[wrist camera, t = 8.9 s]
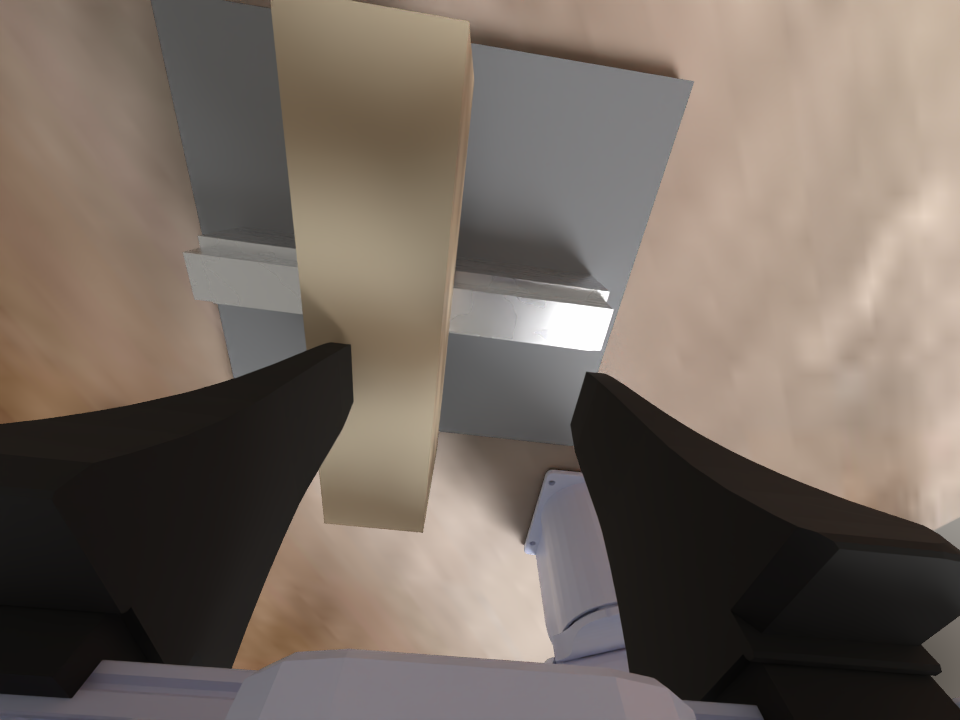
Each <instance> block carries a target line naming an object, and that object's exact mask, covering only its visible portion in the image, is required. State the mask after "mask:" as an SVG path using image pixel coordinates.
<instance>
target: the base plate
mask: <svg viewBox="0 0 960 720" xmlns="http://www.w3.org/2000/svg"><path fill="white" fill-rule="evenodd" d="M151 4H152V9H153V13H154V18H155V22H156V27H157V31H158V36H159V40H160V45H161V49H162V54H163V58H164V63H165V68H166V72H167V77H168V81H169V86H170V90H171V95H172V99H173V104H174V108H175V113H176V118H177V122H178V127H179V131H180V136H181V140H182V145H183V149H184V154H185V158H186V163H187V168H188V172H189V177H190V181H191V186H192V190H193V195H194V199H195V204H196V208H197V213H198V218H199V222H200V227H201V231H202V235H203V234H208V233H213V232H218V231H223V230H227V229H232V228H237V227H246V228H253V229H261V230H268V231H275V232H282V233H290V234H294V225H293V215H292V205H291V196H290V186H289V177H288V167H287V157H286V148H285V138H284V128H283V119H282V109H281V99H280V90H279V80H278V70H277V61H276V51H275V42H274V32H273V22H272V13H271V8H265V7H259V6H253V5H247V4H242V3H236V2H230V1H224V0H151ZM471 48H472V60H473V71H474V89H473V99H472V108H471V118H470V128H469V138H468V148H467V158H466V167H465V177H464V187H463V197H462V207H461V217H460V227H459V236H458V246H457V256H456V257H464V258H471V259H478V260H485V261H493V262H500V263H507V264H514V265H522V266H529V267H536V268H543V269H551V270H558V271H565V272H572V273H580V274H587V275H592V276H593V277H594V278H595V279H596V280H597V281H599V282H600V283H601V284H602V285H603V286H604V287H605V288H606V289H607V290H609V291H610V292H609V296H608V299H607V303H608V304H609V305H610V306H611V307H612V308H613V309H614V310H613V313H612V316H611V319H610V322H609V325H608V328H607V331H606V334H605V338H604V341H603V344H602V347H601V350H591V351H590V350H582V349H574V348H566V347H558V346H550V345H542V344H534V343H526V342H518V341H510V340H502V339H494V338H486V337H478V336H470V335H463V334H455V333H449V335H448V345H447V354H446V364H445V374H444V384H443V394H442V404H441V413H440V423H439V431H440V432H449V433H458V434H467V435H476V436H485V437H494V438H504V439H513V440H522V441H531V442H540V443H549V444H558V445H567V446H573V445H574V444H573V438H572V432H571V427H570V424H571V420H572V417H573V414H574V410H575V407H576V404H577V400H578V397H579V394H580V390H581V387H582V384H583V380H584V377H585V374H586V372H594V373H598V370H599V367H600V364H601V361H602V358H603V355H604V352H605V349H606V346H607V343H608V340H609V337H610V334H611V331H612V328H613V325H614V322H615V319H616V316H617V312H618V309H619V306H620V303H621V300H622V297H623V294H624V291H625V288H626V285H627V282H628V279H629V276H630V273H631V270H632V267H633V264H634V261H635V258H636V255H637V252H638V249H639V246H640V243H641V240H642V237H643V234H644V231H645V228H646V225H647V222H648V219H649V216H650V213H651V210H652V207H653V204H654V201H655V198H656V195H657V192H658V189H659V186H660V183H661V180H662V177H663V174H664V171H665V168H666V165H667V162H668V159H669V156H670V153H671V150H672V147H673V144H674V141H675V138H676V135H677V132H678V129H679V126H680V123H681V120H682V117H683V114H684V111H685V108H686V105H687V102H688V99H689V96H690V93H691V89H692V86H693V83H694V81H689V80H683V79H678V78H672V77H666V76H660V75H654V74H648V73H643V72H637V71H631V70H625V69H619V68H614V67H608V66H602V65H596V64H590V63H585V62H579V61H573V60H567V59H561V58H555V57H550V56H544V55H538V54H532V53H526V52H521V51H515V50H509V49H503V48H497V47H492V46H486V45H480V44H474V43H471ZM218 308H219V313H220V317H221V322H222V327H223V331H224V336H225V340H226V345H227V349H228V354H229V358H230V363H231V367H232V372H233V377H234V378H237V377H240V376H242V375H245V374H248V373H251V372H253V371H256V370H259V369H261V368H264V367H267V366H270V365H272V364H275V363H277V362H280V361H282V360H285V359H287V358H289V357H292V356H294V355H297V354H299V353H302V352H304V351H307V350H306V340H305V331H304V321H303V314H296V313H288V312H280V311H272V310H264V309H256V308H248V307H240V306H232V305H224V304H218Z"/></svg>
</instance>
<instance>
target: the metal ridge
mask: <svg viewBox="0 0 960 720" xmlns="http://www.w3.org/2000/svg"><path fill="white" fill-rule="evenodd" d="M198 240H199V244H200V248H197V249H193V250H189V251H185V252H183V255H184V259H185V263H186V267H187V271H188V275H189V279H190V283H191V287H192V291H193V295H194V299H195V300H203V301H211V302H213V303H216V304H224V305H232V306H240V307H248V308H256V309H264V310H272V311H280V312H288V313H296V314H303V311H302V302H301V292H300V283H299V273H298V263H297V254H296V244H295V234H290V233H282V232H275V231H268V230H261V229H253V228H246V227H237V228H232V229H227V230H223V231H218V232H213V233H208V234H203V235H198ZM609 292H610V291H609V290H607V289H606V288H605V287H604V286H603V285H602V284H601V283H600V282H599V281H597V280H596V279H595V278H594V277H593V276H592V275H587V274H580V273H572V272H565V271H558V270H551V269H543V268H536V267H529V266H522V265H514V264H507V263H500V262H493V261H485V260H478V259H471V258H464V257H456V266H455V276H454V286H453V295H452V305H451V315H450V325H449V333H455V334H463V335H470V336H478V337H486V338H494V339H502V340H510V341H518V342H526V343H534V344H542V345H550V346H558V347H566V348H574V349H582V350H590V351H591V350H601V347H602V344H603V341H604V338H605V334H606V331H607V328H608V325H609V322H610V319H611V316H612V313H613V310H614V309H613V308H612V307H611V306H610V305H609V304H608V303H607V299H608V296H609Z"/></svg>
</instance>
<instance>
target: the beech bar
mask: <svg viewBox="0 0 960 720" xmlns="http://www.w3.org/2000/svg"><path fill="white" fill-rule="evenodd" d="M270 3H271V13H272V22H273V32H274V42H275V51H276V61H277V70H278V80H279V90H280V99H281V109H282V119H283V128H284V138H285V148H286V157H287V167H288V177H289V186H290V196H291V205H292V215H293V225H294V234H295V244H296V254H297V263H298V273H299V283H300V292H301V302H302V311H303V321H304V331H305V340H306V350H309V349H312V348H314V347H317V346H319V345H322V344H325V343H329V342H333V343H342V344H351V354H352V375H353V396H354V402H353V405H352V407H351V410H350V412H349V415H348V418H347V420H346V422H345V425H344V427H343V429H342V431H341V433H340V434H339V436H338V438H337V440H336V441H335V443H334V445H333V446H332V448H331V450H330V452H329V453H328V455H327V457H326V458H325V460H324V462H323V463H322V465H321V467H320V468H319V475H320V485H321V495H322V504H323V514H324V523H326V524H337V525H347V526H358V527H368V528H379V529H390V530H400V531H411V532H421V533H423V529H424V523H425V517H426V511H427V505H428V499H429V493H430V487H431V481H432V475H433V469H434V463H435V457H436V451H437V443H438V433H439V423H440V413H441V404H442V394H443V384H444V374H445V364H446V354H447V345H448V335H449V325H450V315H451V305H452V295H453V286H454V276H455V266H456V256H457V246H458V236H459V227H460V217H461V207H462V197H463V187H464V177H465V167H466V158H467V148H468V138H469V128H470V118H471V108H472V99H473V89H474V71H473V60H472V48H471V37H470V26H469V21H464V20H459V19H453V18H447V17H442V16H436V15H430V14H425V13H419V12H413V11H408V10H402V9H396V8H391V7H385V6H379V5H374V4H368V3H362V2H357V1H351V0H270Z"/></svg>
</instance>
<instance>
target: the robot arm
mask: <svg viewBox="0 0 960 720" xmlns="http://www.w3.org/2000/svg"><path fill="white" fill-rule="evenodd" d="M353 402H354V396H353V375H352V354H351V344H342V343H333V342H329V343H325V344H322V345H319V346H317V347H314V348H312V349H309V350H307V351H304V352H302V353H299V354H297V355H294V356H292V357H289V358H287V359H285V360H282V361H280V362H277V363H275V364H272V365H270V366H267V367H264V368H261V369H259V370H256V371H253V372H251V373H248V374H245V375H242V376H240V377H237V378H234V379H231V380H228V381H225V382H221V383H218V384H215V385H211V386H208V387H204V388H201V389H197V390H194V391H190V392H186V393H182V394H178V395H173V396H169V397H165V398H160V399H156V400H151V401H147V402H142V403H138V404H133V405H128V406H123V407H117V408H112V409H106V410H100V411H95V412H88V413H82V414H75V415H69V416H62V417H55V418H48V419H41V420H32V421H23V422H15V423H6V424H0V720H960V697H957V698H953V699H951V698H950V697H949V696H948V695H947V694H946V693H945V692H944V690H943V689H942V688H941V687H940V686H939V685H938V684H937V683H936V682H935V680H934V679H933V678H932V677H931V676H930V675H933V676H936V675H938V674H939V673H941V672H942V671H941V667H940V664H939V663H938V662H937V661H936V660H935V659H934V658H933V657H932V656H931V655H930V654H929V653H928V652H927V651H926V649H924V647H923V646H922V645H921V644H922V643H923V642H925V641H926V640H927V639H929V638H930V637H932V636H933V635H934V634H936V633H937V632H938V631H940V630H941V629H942V628H944V627H945V626H946V625H948V624H949V623H950V622H952V621H953V620H954V619H956V618H957V617H958V616H960V550H959V549H957V548H956V547H955V546H953V545H952V544H951V543H950V542H948V541H947V540H946V539H944V538H943V537H942V536H941V535H939V534H938V533H936V532H934V531H933V530H931V529H929V528H927V527H925V526H923V525H920V524H917V523H914V522H911V521H908V520H905V519H902V518H899V517H896V516H893V515H890V514H887V513H884V512H881V511H878V510H875V509H872V508H869V507H866V506H863V505H860V504H857V503H854V502H851V501H848V500H846V499H843V498H840V497H838V496H835V495H832V494H830V493H827V492H824V491H822V490H819V489H817V488H814V487H811V486H809V485H806V484H804V483H801V482H799V481H796V480H794V479H792V478H789V477H787V476H784V475H782V474H780V473H777V472H775V471H773V470H771V469H768V468H766V467H764V466H762V465H760V464H757V463H755V462H753V461H751V460H749V459H746V458H744V457H742V456H740V455H738V454H736V453H734V452H732V451H730V450H728V449H726V448H724V447H723V446H721V445H719V444H717V443H715V442H713V441H711V440H709V439H708V438H706V437H704V436H702V435H700V434H699V433H697V432H695V431H693V430H692V429H690V428H689V427H687V426H685V425H684V424H682V423H680V422H679V421H677V420H676V419H674V418H672V417H671V416H669V415H668V414H666V413H665V412H663V411H662V410H660V409H659V408H657V407H656V406H654V405H653V404H651V403H650V402H648V401H647V400H645V399H644V398H643V397H641V396H640V395H638V394H637V393H635V392H634V391H632V390H631V389H629V388H628V387H627V386H625V385H624V384H622V383H621V382H619V381H618V380H616V379H614V378H613V377H611V376H609V375H607V374H603V373H594V372H586V374H585V377H584V380H583V384H582V387H581V390H580V394H579V397H578V400H577V404H576V407H575V410H574V414H573V417H572V420H571V424H570V427H571V432H572V438H573V444H574V449H575V453H576V456H577V459H578V462H579V465H580V468H581V471H582V473H581V472H571V471H562V470H549V471H548V472H547V473H546V475H545V478H544V481H543V485H542V488H541V491H540V495H539V498H538V502H537V505H536V508H535V512H534V515H533V518H532V522H531V525H530V528H529V532H528V535H527V538H526V542H525V545H524V551H525V553H527V554H532V555H536V559H537V566H538V573H539V581H540V588H541V595H542V602H543V609H544V616H545V623H546V628H547V632H548V635H549V638H550V640H551V642H552V644H553V648H554V654H555V657H553V658H549V659H547V660H546V661H545V663H536V662H522V661H509V660H495V659H481V658H468V657H454V656H440V655H427V654H413V653H400V652H386V651H372V650H359V649H339V650H323V651H307V652H295V653H293V654H291V655H289V656H287V657H285V658H283V659H281V660H279V661H276V662H274V663H272V664H270V665H268V666H266V667H264V668H262V669H260V670H259V671H257V670H242V669H232V666H233V663H234V661H235V658H236V655H237V653H238V650H239V647H240V644H241V642H242V639H243V636H244V634H245V631H246V628H247V626H248V623H249V621H250V618H251V616H252V613H253V611H254V608H255V606H256V603H257V601H258V598H259V596H260V593H261V591H262V588H263V586H264V583H265V581H266V578H267V576H268V573H269V571H270V569H271V566H272V564H273V562H274V559H275V557H276V555H277V552H278V550H279V548H280V545H281V543H282V541H283V538H284V536H285V534H286V532H287V530H288V527H289V525H290V523H291V521H292V519H293V516H294V514H295V512H296V510H297V508H298V505H299V503H300V502H301V500H302V498H303V496H304V494H305V492H306V490H307V488H308V487H309V485H310V483H311V482H312V480H313V478H314V477H315V475H316V473H317V472H318V470H319V468H320V467H321V465H322V463H323V462H324V460H325V458H326V457H327V455H328V453H329V452H330V450H331V448H332V446H333V445H334V443H335V441H336V440H337V438H338V436H339V434H340V433H341V431H342V429H343V427H344V425H345V422H346V420H347V418H348V415H349V412H350V410H351V407H352V405H353ZM552 480H553V481H552Z"/></svg>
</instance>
